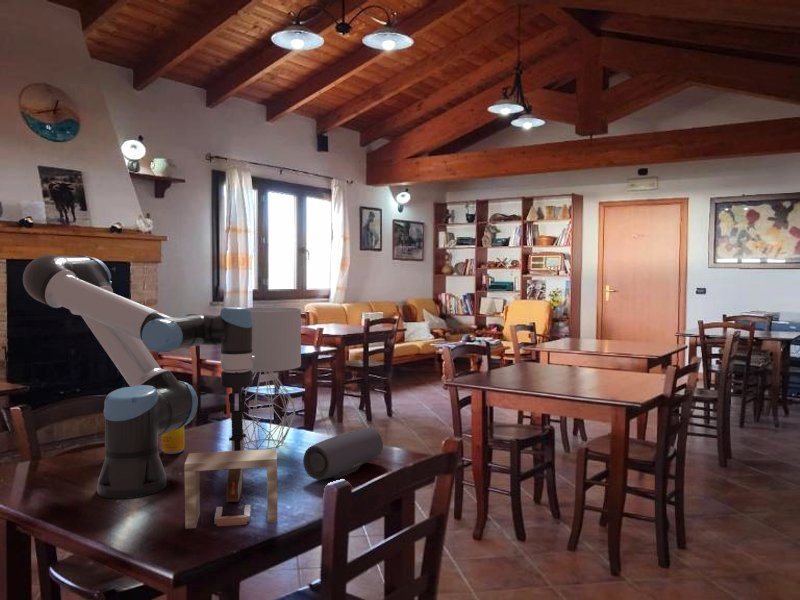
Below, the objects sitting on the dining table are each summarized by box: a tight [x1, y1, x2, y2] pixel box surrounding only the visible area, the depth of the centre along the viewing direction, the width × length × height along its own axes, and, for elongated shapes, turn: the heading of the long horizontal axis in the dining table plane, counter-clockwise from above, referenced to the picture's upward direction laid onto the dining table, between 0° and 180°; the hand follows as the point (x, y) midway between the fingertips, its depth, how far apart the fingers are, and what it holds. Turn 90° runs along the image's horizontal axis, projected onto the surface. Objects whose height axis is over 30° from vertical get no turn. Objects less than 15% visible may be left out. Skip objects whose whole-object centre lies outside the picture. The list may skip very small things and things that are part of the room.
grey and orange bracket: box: [213, 504, 252, 527], centre depth 138 cm, size 7×8×2 cm
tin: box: [225, 468, 244, 503], centre depth 152 cm, size 15×3×8 cm, turn 9°
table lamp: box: [229, 306, 302, 450], centre depth 196 cm, size 22×22×40 cm
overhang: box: [184, 448, 278, 530], centre depth 138 cm, size 18×8×13 cm, turn 101°
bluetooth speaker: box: [302, 427, 384, 481], centre depth 169 cm, size 23×9×10 cm, turn 148°
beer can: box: [161, 425, 185, 455], centre depth 189 cm, size 6×6×15 cm
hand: (237, 465), depth 164 cm, fingers closed
